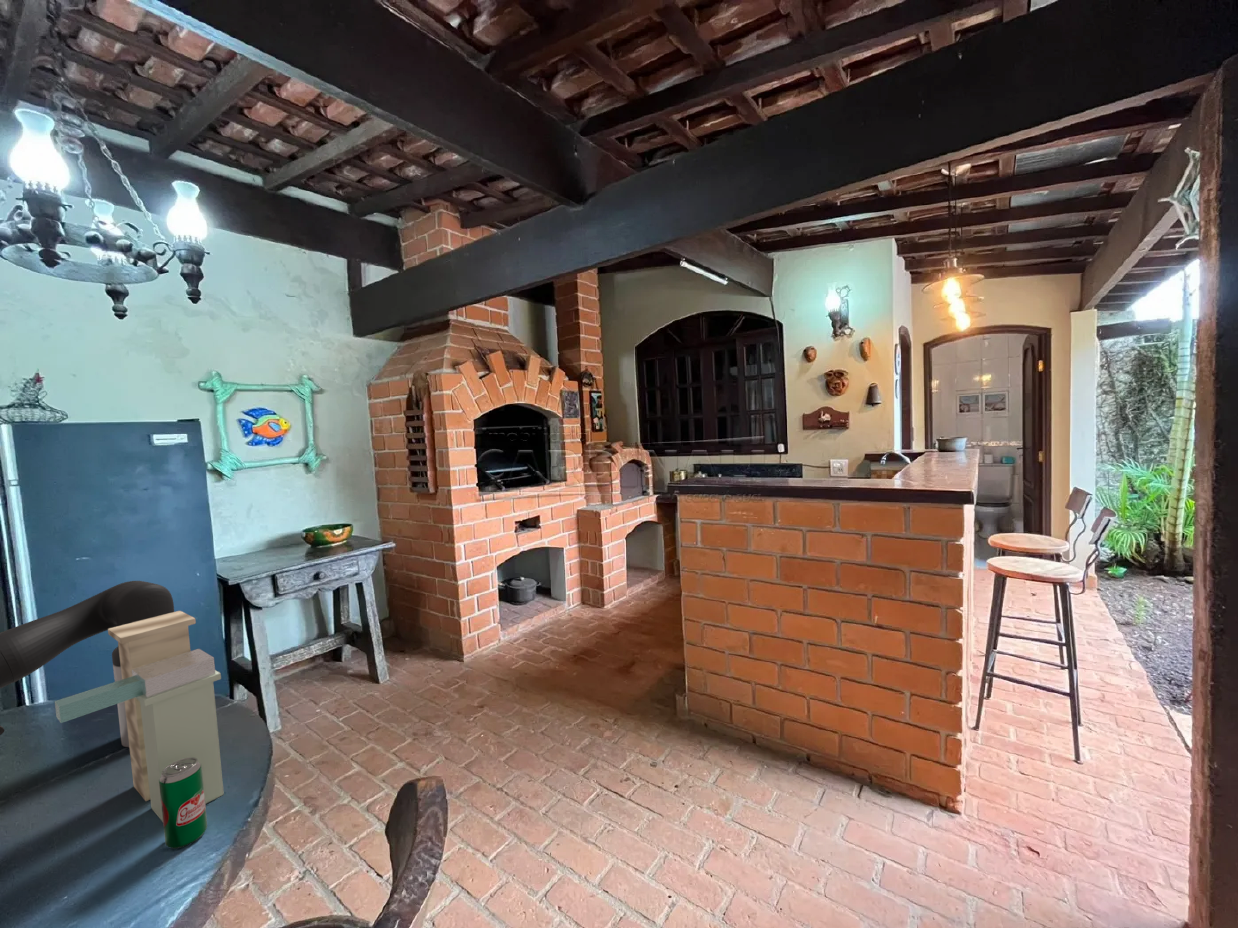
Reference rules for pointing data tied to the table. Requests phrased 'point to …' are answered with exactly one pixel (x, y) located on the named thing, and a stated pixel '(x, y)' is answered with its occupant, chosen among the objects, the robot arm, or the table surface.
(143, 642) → the high stand
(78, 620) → the robot arm
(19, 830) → the table surface
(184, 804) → the soda can
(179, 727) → the low stand
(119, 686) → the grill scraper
